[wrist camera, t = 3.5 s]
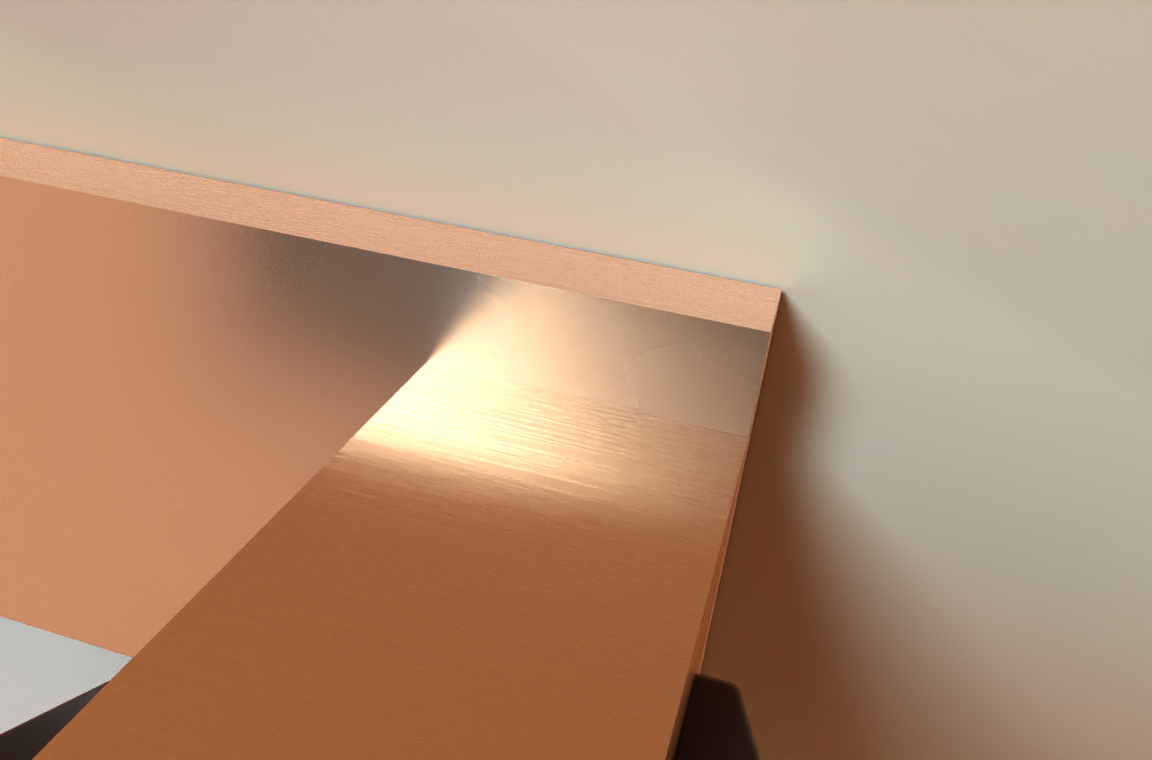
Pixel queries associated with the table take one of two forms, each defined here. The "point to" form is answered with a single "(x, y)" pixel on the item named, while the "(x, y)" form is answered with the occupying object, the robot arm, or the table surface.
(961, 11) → the table surface
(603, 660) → the copper plank with block
